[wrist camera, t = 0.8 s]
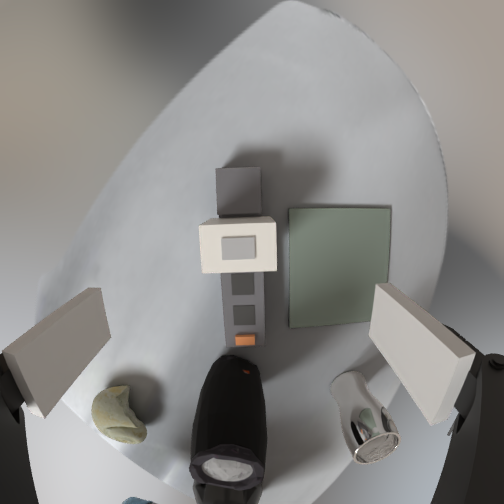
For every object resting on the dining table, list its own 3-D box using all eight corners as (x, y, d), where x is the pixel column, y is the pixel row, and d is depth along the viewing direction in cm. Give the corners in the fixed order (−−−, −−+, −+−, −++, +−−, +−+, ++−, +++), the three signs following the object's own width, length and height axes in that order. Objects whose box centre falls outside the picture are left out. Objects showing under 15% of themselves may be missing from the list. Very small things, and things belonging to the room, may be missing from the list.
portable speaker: (234, 340, 39) (225, 440, 20) (275, 378, 40) (288, 478, 22) (193, 369, 40) (165, 466, 21) (234, 403, 41) (228, 500, 23)
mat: (380, 317, 38) (382, 319, 38) (289, 326, 38) (289, 328, 38) (388, 208, 35) (390, 208, 35) (288, 208, 35) (289, 208, 35)
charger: (270, 253, 34) (277, 271, 26) (212, 255, 34) (201, 273, 26) (269, 216, 34) (276, 222, 26) (210, 218, 34) (198, 225, 26)
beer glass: (369, 364, 40) (408, 425, 25) (364, 396, 41) (395, 457, 27) (328, 371, 40) (356, 439, 25) (325, 403, 42) (347, 470, 27)
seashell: (147, 459, 36) (94, 450, 34) (152, 432, 44) (105, 425, 42) (134, 405, 35) (76, 395, 33) (144, 379, 42) (92, 372, 41)
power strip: (264, 333, 39) (265, 348, 35) (228, 334, 39) (225, 349, 35) (259, 169, 34) (260, 166, 30) (218, 171, 34) (214, 168, 30)
